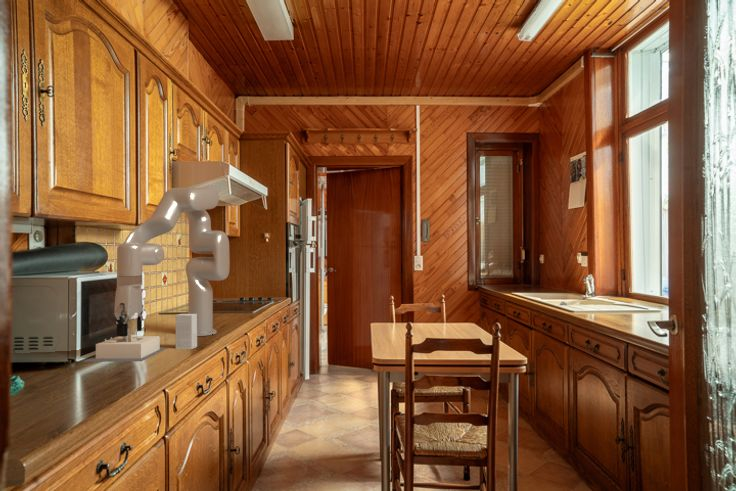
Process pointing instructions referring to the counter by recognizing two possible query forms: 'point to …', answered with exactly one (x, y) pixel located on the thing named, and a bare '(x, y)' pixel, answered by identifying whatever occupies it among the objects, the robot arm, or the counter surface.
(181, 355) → the counter surface
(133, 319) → the sprinkles bottle
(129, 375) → the counter surface
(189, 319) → the skincare box
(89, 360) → the slate mat
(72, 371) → the counter surface
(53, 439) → the counter surface
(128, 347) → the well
